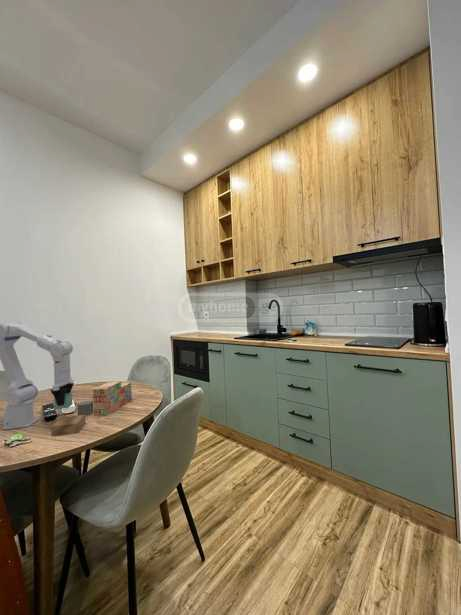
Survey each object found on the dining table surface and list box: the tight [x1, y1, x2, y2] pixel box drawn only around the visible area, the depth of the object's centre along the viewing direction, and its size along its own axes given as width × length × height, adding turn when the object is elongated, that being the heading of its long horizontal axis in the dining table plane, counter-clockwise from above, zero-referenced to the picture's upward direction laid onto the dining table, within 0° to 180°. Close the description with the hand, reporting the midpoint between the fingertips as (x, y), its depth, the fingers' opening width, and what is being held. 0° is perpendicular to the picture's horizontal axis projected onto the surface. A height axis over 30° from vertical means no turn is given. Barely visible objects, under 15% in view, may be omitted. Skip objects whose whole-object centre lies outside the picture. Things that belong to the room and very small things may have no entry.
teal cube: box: [53, 392, 73, 411], centre depth 108 cm, size 5×5×5 cm
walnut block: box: [50, 414, 86, 437], centre depth 101 cm, size 9×9×4 cm
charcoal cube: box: [77, 400, 94, 417], centre depth 118 cm, size 5×5×5 cm
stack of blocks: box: [92, 380, 133, 417], centre depth 125 cm, size 21×6×12 cm, turn 171°
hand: (63, 403), depth 108 cm, fingers closed on teal cube, 5 cm apart
